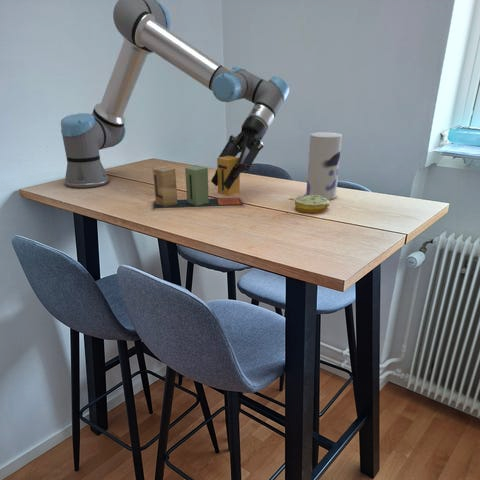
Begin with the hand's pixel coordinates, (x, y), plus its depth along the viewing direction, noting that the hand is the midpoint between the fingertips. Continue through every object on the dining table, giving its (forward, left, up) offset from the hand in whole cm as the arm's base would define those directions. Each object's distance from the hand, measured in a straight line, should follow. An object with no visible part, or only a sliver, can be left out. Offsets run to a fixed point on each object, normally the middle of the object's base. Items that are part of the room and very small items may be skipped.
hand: (220, 184), depth 147 cm
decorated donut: (+23, +18, -7) cm, 30 cm away
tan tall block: (-12, -12, -6) cm, 18 cm away
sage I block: (-6, -4, -6) cm, 10 cm away
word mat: (-6, -4, -7) cm, 10 cm away
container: (+16, +32, -7) cm, 36 cm away
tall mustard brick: (0, +4, -3) cm, 5 cm away
